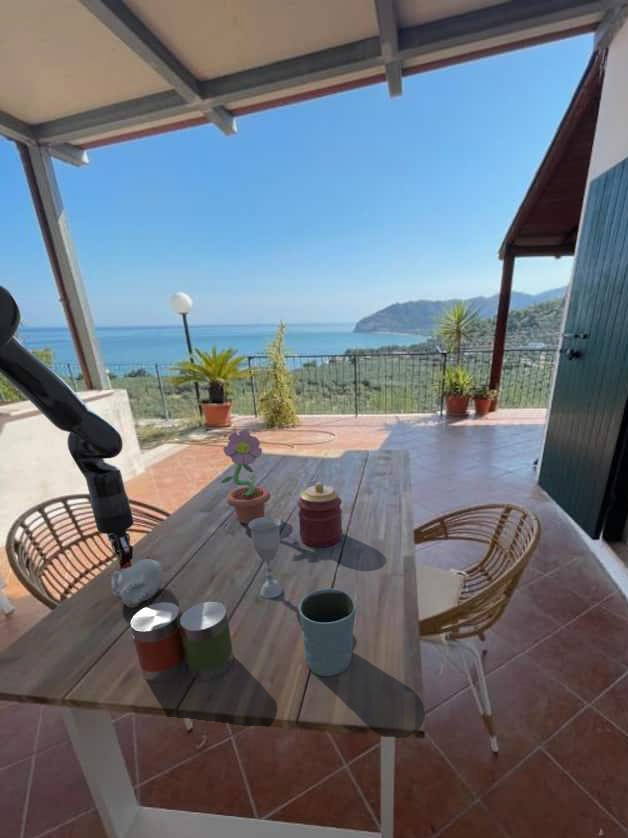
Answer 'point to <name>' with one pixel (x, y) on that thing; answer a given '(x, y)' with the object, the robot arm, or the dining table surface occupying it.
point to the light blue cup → (327, 630)
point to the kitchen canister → (320, 516)
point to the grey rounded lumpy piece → (137, 581)
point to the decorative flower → (250, 497)
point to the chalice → (267, 549)
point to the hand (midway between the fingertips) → (127, 571)
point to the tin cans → (182, 641)
